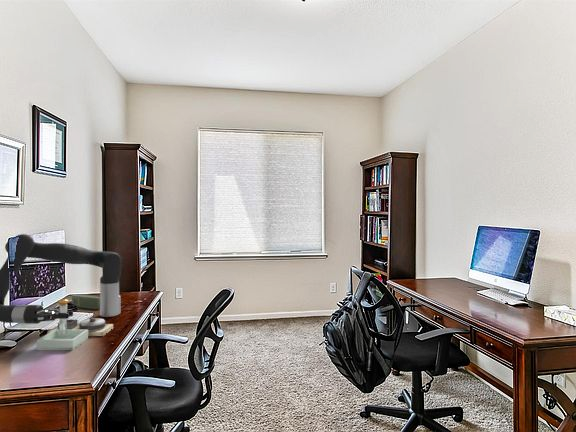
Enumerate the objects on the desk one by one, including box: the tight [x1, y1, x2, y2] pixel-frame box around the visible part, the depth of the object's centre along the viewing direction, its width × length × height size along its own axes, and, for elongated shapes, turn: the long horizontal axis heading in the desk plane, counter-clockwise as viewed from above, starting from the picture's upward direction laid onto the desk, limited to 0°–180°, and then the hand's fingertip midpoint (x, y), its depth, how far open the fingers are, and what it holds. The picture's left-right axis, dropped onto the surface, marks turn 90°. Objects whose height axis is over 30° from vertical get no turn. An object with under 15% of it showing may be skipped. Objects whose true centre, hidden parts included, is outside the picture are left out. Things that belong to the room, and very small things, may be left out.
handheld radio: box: [71, 294, 100, 310], centre depth 229 cm, size 7×3×25 cm
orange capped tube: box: [57, 298, 70, 335], centre depth 169 cm, size 4×4×14 cm
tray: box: [36, 330, 89, 351], centre depth 169 cm, size 14×14×4 cm
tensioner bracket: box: [46, 317, 114, 337], centre depth 185 cm, size 24×12×6 cm, turn 93°
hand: (70, 314), depth 169 cm, fingers closed on orange capped tube, 2 cm apart
